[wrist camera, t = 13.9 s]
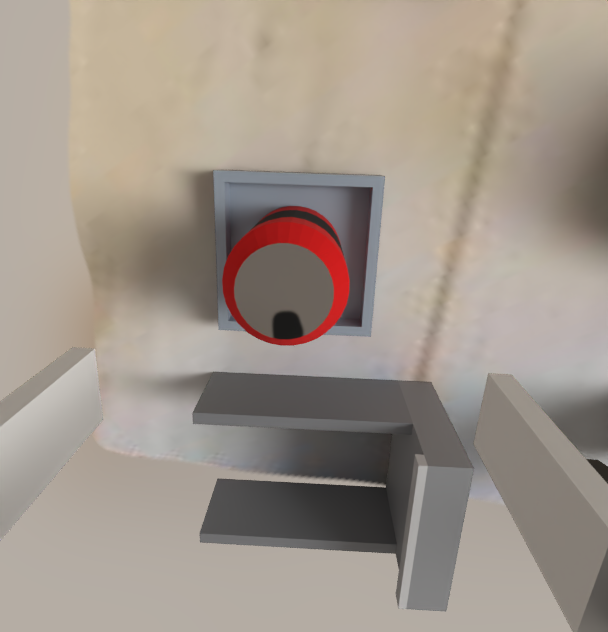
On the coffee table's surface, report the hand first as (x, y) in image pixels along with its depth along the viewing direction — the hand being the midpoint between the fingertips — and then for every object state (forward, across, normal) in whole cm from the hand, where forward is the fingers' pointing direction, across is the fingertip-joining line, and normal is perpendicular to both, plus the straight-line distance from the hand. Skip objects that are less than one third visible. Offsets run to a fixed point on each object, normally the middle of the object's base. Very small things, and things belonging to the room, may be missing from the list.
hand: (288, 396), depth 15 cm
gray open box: (+23, +2, -18) cm, 29 cm away
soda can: (+23, -1, 0) cm, 23 cm away
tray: (+23, -1, 0) cm, 23 cm away
